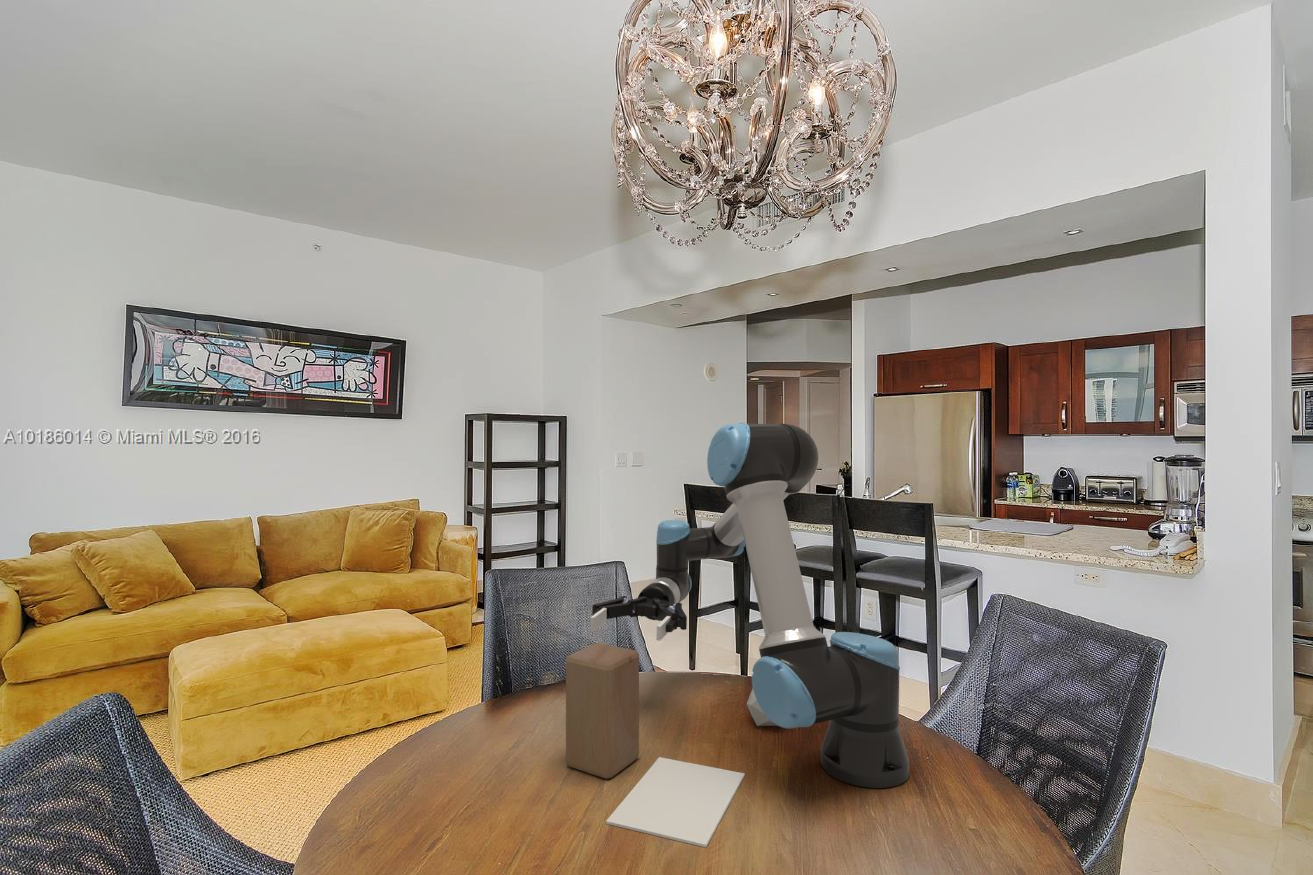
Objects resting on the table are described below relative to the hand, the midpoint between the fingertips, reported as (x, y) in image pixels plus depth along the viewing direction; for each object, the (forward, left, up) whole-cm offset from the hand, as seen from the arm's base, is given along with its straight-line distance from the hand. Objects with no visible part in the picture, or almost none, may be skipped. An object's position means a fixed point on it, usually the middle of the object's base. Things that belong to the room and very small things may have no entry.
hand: (624, 628), depth 128 cm
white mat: (-16, +14, -22) cm, 31 cm away
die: (-23, -20, -22) cm, 38 cm away
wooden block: (+1, +8, -22) cm, 24 cm away
